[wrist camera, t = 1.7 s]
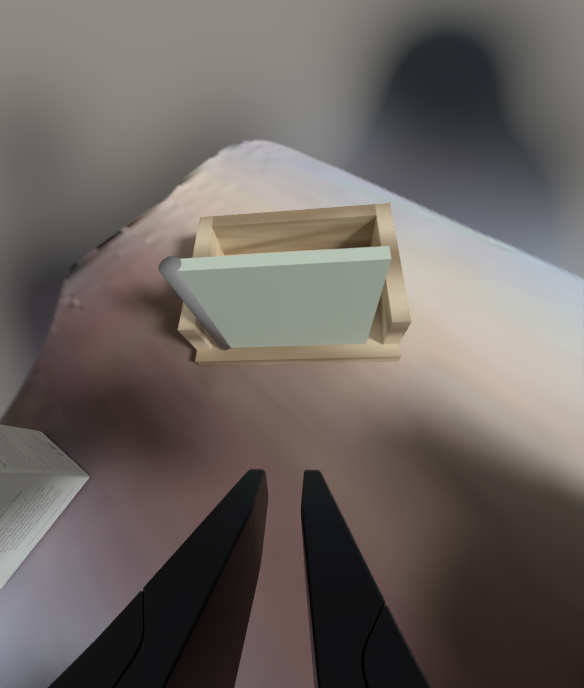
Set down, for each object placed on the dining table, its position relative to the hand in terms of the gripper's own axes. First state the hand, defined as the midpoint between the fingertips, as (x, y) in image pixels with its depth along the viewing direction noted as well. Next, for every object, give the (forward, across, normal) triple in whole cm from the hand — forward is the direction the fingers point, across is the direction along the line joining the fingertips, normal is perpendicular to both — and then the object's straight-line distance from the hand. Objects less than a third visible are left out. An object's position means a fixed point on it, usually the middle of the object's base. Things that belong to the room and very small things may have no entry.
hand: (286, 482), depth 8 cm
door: (+16, +1, +2) cm, 16 cm away
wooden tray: (+20, +1, -1) cm, 20 cm away
